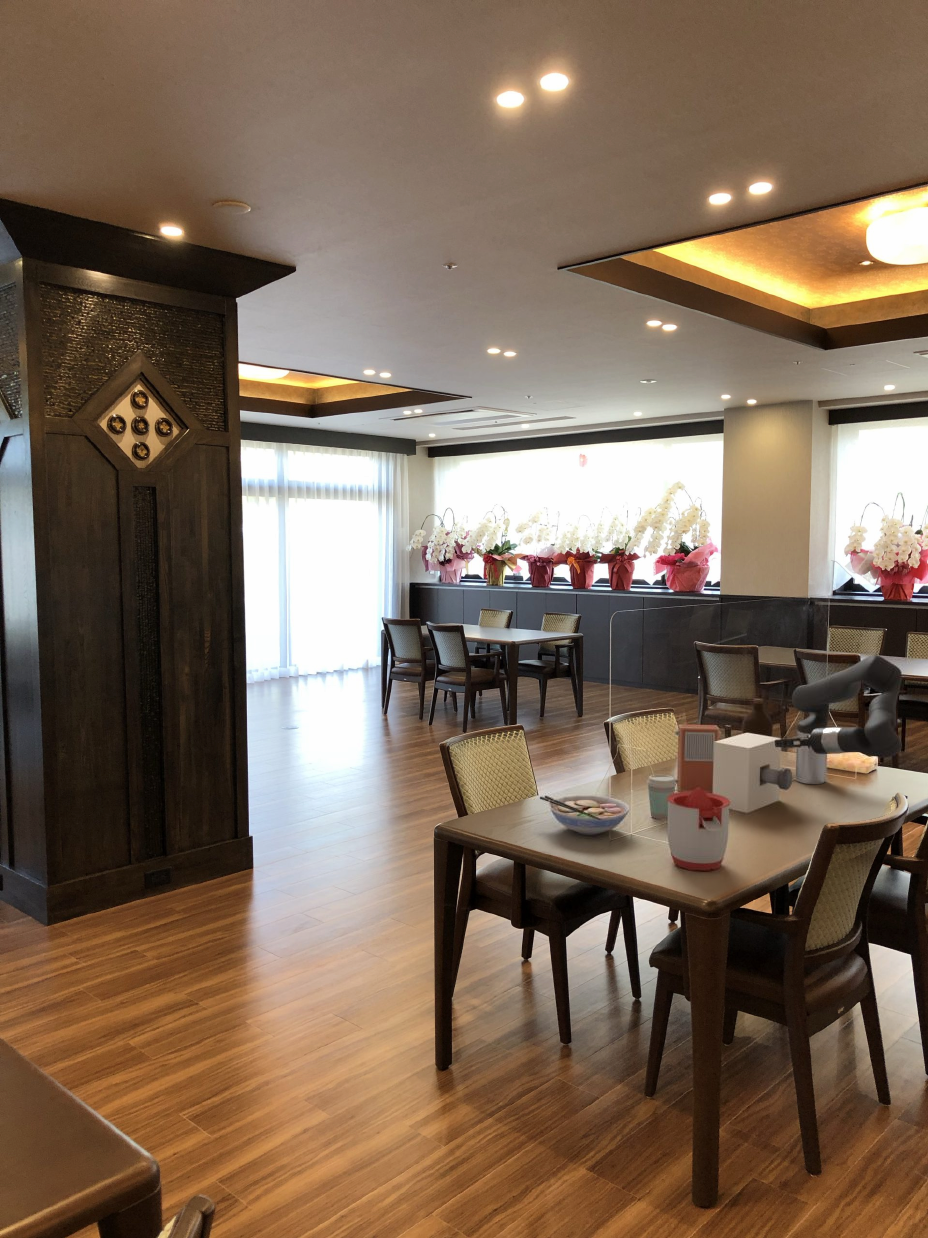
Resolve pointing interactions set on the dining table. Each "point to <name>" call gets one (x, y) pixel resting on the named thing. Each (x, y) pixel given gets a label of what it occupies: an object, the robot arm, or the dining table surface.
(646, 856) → the dining table surface
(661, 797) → the coffee cup
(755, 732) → the olive oil
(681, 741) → the orange radio
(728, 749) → the knob mount
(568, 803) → the ramen bowl
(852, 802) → the dining table surface
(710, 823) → the citrus juicer
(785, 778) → the knob
